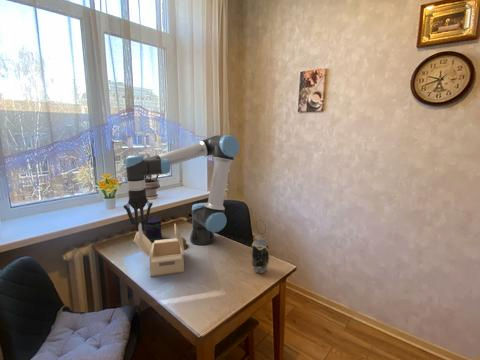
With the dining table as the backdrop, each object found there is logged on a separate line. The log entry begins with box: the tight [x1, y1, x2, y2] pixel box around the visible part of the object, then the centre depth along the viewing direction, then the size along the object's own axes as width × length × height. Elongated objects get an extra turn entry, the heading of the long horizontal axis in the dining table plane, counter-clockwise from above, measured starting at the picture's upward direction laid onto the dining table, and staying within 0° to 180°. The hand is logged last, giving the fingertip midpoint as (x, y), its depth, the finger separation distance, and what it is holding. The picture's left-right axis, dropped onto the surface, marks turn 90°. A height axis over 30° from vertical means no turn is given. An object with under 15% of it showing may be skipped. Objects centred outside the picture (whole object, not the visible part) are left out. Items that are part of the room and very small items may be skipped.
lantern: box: [251, 219, 270, 274], centre depth 119 cm, size 9×8×25 cm
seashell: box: [181, 236, 188, 250], centre depth 144 cm, size 10×7×8 cm
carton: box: [149, 237, 185, 278], centre depth 124 cm, size 15×25×9 cm, turn 16°
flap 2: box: [174, 223, 185, 253], centre depth 124 cm, size 10×15×1 cm
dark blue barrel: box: [144, 216, 163, 245], centre depth 150 cm, size 10×10×15 cm
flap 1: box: [133, 231, 152, 257], centre depth 119 cm, size 10×15×1 cm
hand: (141, 237), depth 119 cm, fingers closed
